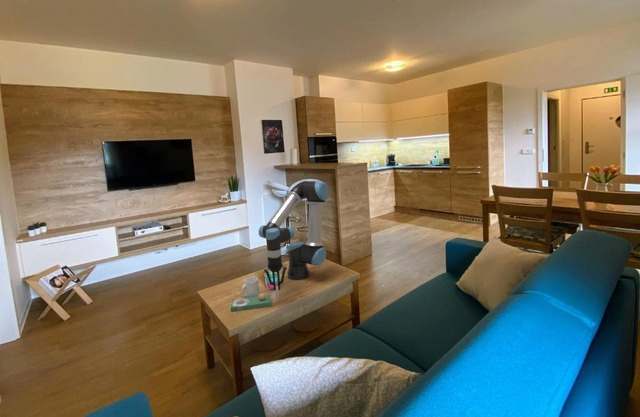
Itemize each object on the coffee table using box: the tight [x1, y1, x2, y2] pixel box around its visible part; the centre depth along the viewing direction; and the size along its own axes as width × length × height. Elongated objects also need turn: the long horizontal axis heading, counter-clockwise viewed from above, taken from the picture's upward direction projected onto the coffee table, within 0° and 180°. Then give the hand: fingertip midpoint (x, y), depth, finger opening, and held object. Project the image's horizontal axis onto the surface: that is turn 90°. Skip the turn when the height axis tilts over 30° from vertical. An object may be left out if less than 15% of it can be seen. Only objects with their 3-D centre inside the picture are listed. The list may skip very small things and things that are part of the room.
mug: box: [240, 276, 261, 298], centre depth 200 cm, size 9×12×11 cm
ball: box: [259, 292, 265, 300], centre depth 191 cm, size 4×4×4 cm
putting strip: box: [230, 294, 272, 313], centre depth 191 cm, size 22×10×2 cm, turn 100°
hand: (277, 295), depth 193 cm, fingers closed
